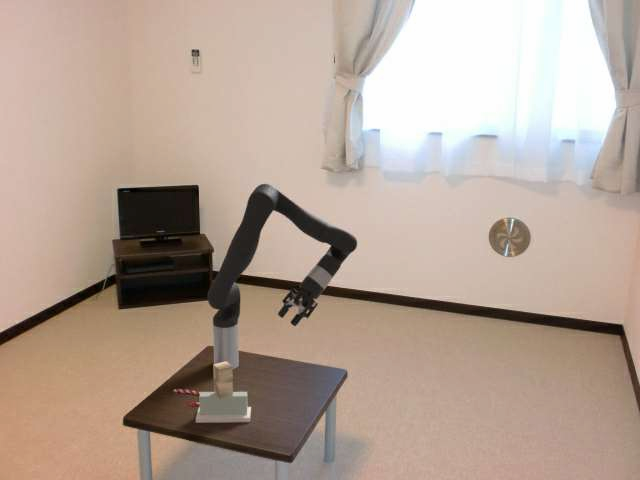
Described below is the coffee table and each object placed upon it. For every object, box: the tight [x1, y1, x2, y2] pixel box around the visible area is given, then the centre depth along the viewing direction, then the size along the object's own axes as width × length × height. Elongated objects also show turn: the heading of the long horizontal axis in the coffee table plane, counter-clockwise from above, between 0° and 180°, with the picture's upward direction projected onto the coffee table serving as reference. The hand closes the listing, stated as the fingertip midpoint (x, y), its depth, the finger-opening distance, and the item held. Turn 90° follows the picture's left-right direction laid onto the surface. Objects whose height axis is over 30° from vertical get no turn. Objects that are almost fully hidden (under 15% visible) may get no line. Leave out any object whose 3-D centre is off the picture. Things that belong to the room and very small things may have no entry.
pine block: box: [212, 361, 234, 399], centre depth 199 cm, size 4×4×10 cm
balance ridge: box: [195, 391, 252, 424], centre depth 201 cm, size 7×17×8 cm, turn 92°
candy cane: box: [173, 388, 201, 407], centre depth 214 cm, size 8×1×15 cm
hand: (286, 320), depth 207 cm, fingers open, 8 cm apart
